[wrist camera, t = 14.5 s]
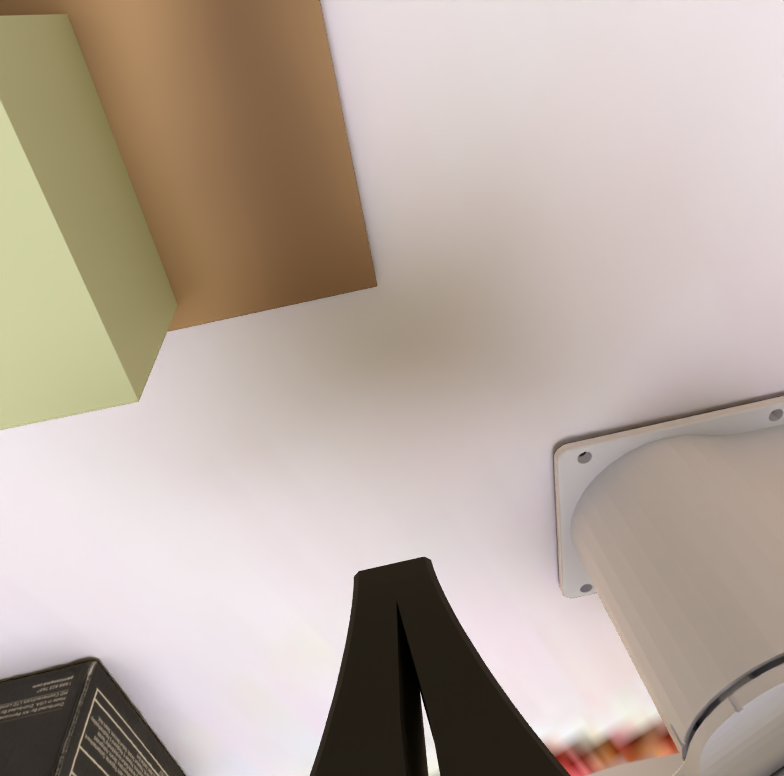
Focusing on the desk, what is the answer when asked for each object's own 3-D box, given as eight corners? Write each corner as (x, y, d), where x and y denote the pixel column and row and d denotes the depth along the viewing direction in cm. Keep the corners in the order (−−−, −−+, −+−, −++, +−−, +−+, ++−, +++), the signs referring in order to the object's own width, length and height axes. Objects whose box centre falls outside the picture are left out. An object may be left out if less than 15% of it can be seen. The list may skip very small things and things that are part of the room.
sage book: (67, 14, 14) (-38, 16, 9) (177, 305, 17) (138, 401, 13) (-117, 49, 13) (-308, 68, 9) (34, 334, 17) (-53, 441, 13)
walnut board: (297, -107, 13) (297, -111, 13) (374, 278, 18) (377, 286, 18) (-444, 45, 13) (-475, 46, 13) (-169, 395, 18) (-182, 406, 17)
